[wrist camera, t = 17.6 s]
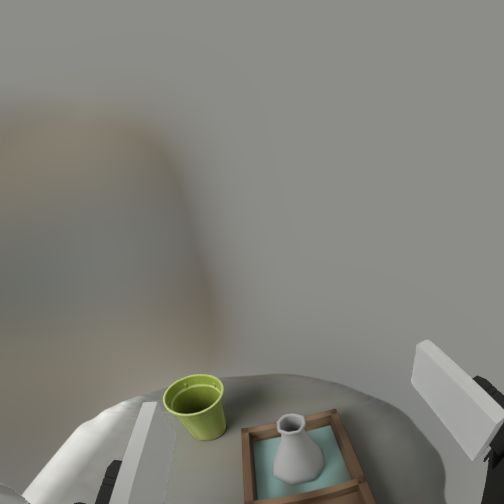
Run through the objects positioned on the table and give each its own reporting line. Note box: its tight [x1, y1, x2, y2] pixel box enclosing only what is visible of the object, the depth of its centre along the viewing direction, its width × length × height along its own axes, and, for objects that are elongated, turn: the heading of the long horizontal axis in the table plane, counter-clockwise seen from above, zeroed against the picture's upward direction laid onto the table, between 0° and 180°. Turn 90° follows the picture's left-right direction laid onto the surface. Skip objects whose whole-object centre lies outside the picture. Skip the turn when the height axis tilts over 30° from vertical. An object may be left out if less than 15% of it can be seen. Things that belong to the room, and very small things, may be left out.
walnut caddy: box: [241, 409, 376, 504], centre depth 21 cm, size 14×27×3 cm, turn 3°
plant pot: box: [163, 374, 226, 440], centre depth 37 cm, size 9×9×9 cm
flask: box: [272, 413, 326, 485], centre depth 26 cm, size 7×7×10 cm
